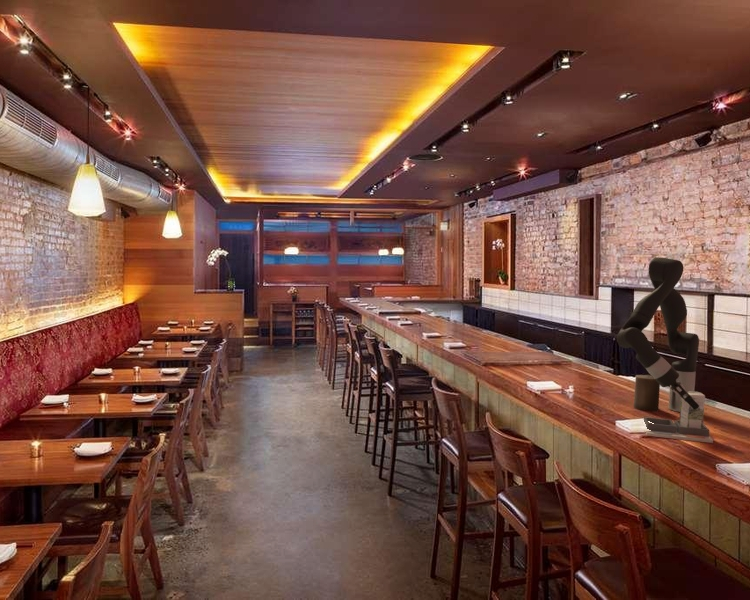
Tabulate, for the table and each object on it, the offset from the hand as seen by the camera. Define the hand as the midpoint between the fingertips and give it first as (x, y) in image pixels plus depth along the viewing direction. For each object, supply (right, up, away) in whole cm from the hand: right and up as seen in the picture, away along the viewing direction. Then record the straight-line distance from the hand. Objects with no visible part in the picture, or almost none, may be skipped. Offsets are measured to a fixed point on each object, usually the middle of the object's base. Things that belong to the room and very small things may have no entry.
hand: (694, 405), depth 213 cm
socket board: (-6, -11, +1) cm, 12 cm away
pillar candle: (0, -8, +38) cm, 39 cm away
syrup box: (-1, -10, +1) cm, 10 cm away
